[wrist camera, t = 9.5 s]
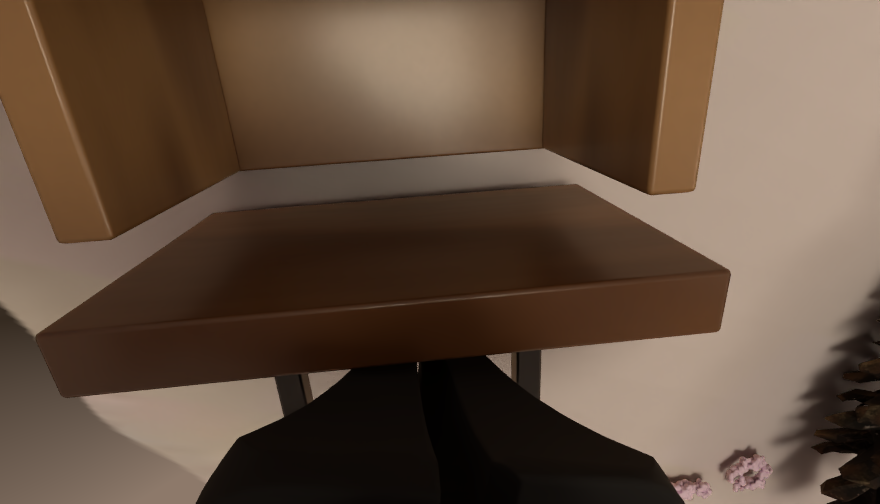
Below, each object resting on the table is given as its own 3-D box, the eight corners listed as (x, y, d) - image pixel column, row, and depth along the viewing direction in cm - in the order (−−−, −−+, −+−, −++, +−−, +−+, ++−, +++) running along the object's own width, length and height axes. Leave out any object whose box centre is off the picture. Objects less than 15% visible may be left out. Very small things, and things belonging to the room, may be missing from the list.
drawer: (568, 352, 16) (682, 533, 9) (256, 384, 15) (152, 600, 9) (605, -336, 9) (1024, -1194, 3) (72, -330, 9) (-766, -1387, 2)
